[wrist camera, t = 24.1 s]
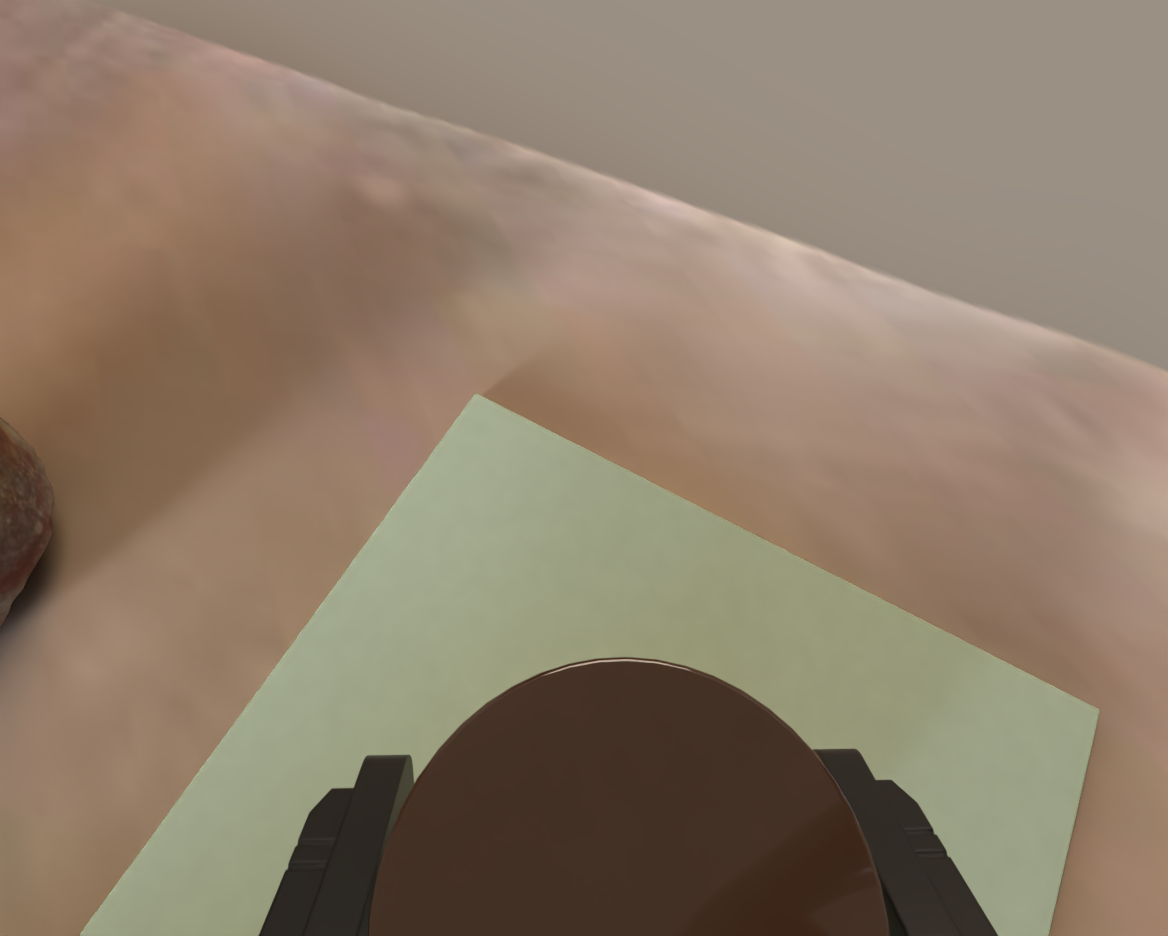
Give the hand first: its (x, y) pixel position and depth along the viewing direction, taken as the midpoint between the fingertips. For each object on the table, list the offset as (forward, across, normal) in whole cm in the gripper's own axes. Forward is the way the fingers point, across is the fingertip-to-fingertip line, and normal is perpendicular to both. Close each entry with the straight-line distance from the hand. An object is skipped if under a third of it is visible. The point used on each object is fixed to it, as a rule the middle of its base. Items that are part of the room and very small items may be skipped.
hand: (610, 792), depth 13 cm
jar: (+2, 0, +4) cm, 5 cm away
